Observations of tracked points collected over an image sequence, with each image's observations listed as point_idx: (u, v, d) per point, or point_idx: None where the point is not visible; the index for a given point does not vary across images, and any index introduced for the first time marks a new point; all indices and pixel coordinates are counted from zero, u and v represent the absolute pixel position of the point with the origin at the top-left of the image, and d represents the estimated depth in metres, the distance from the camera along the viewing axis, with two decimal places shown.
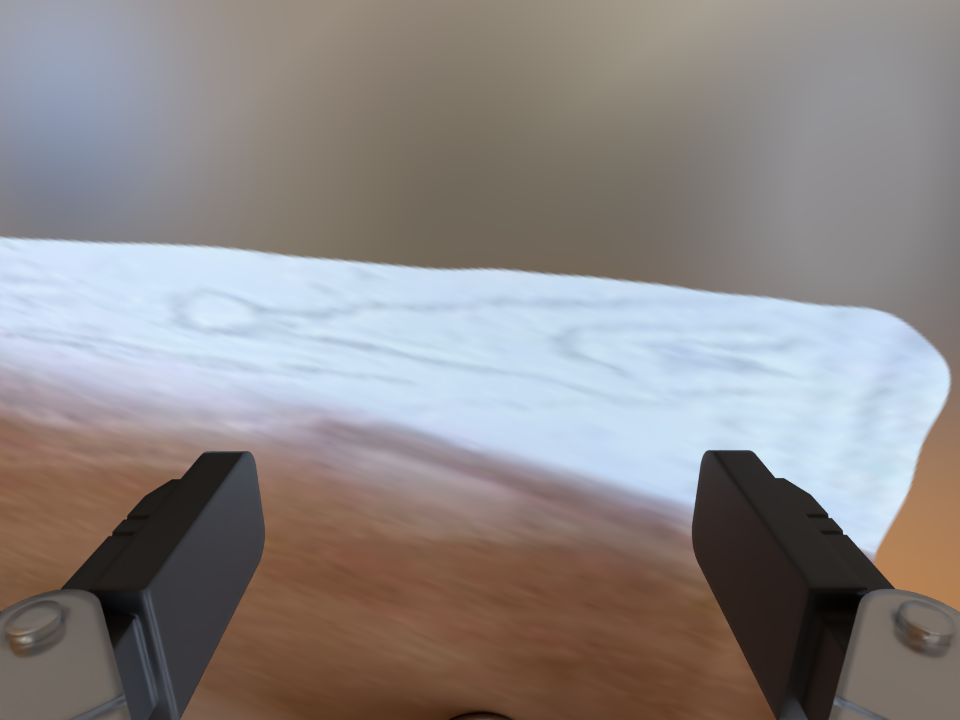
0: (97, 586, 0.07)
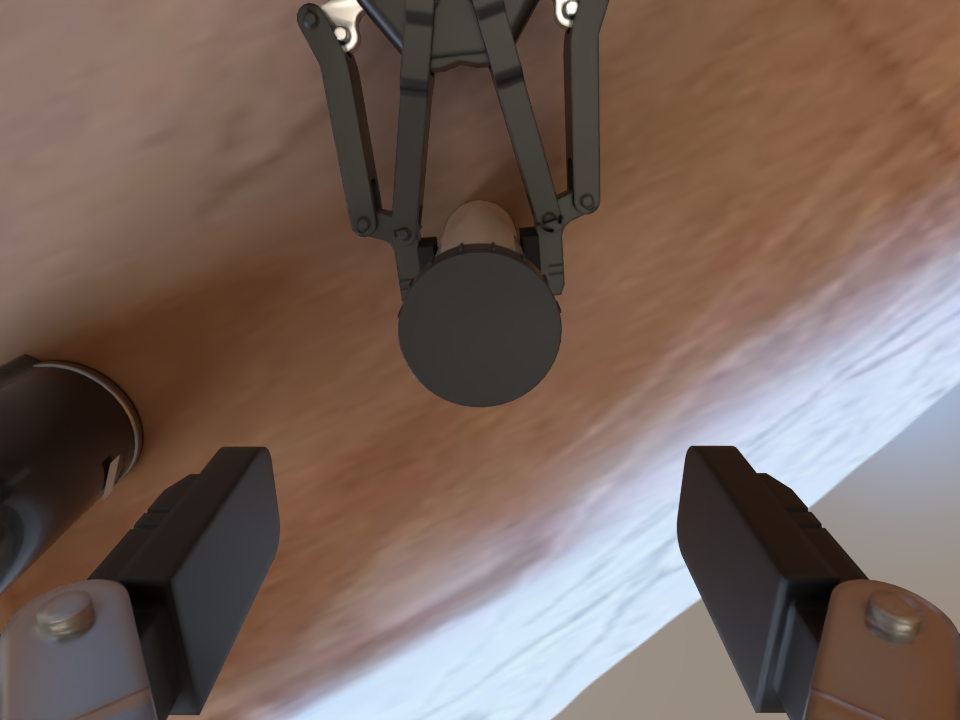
0: (124, 577, 0.08)
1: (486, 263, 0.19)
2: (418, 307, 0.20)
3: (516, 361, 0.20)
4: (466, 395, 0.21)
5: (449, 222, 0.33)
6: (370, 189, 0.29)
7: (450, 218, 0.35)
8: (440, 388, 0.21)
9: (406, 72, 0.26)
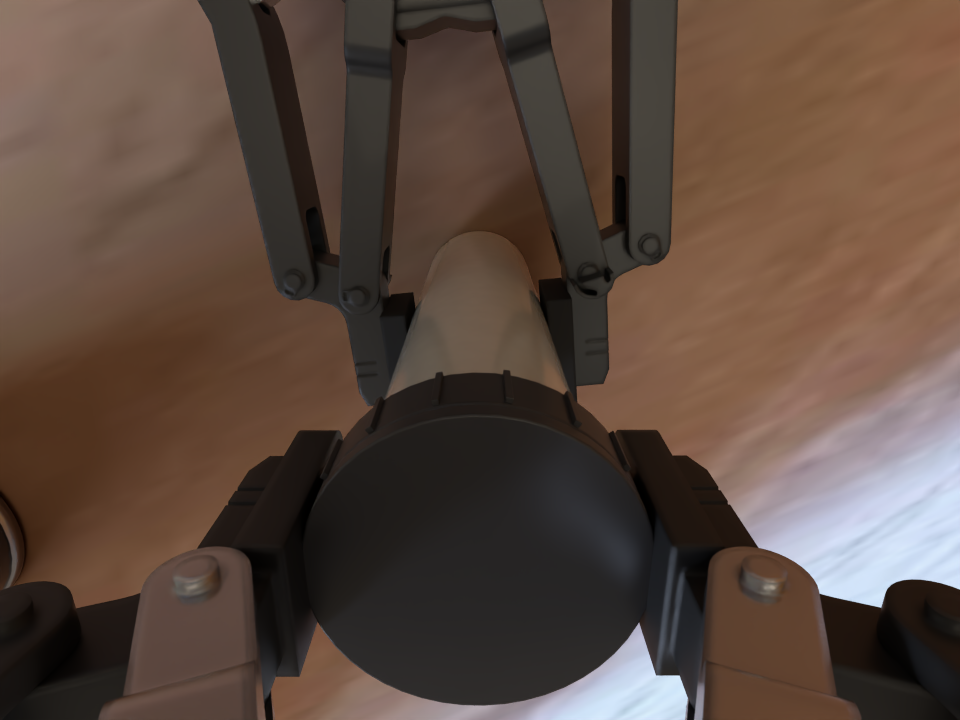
0: (237, 545, 0.08)
1: (493, 438, 0.08)
2: (342, 526, 0.09)
3: (556, 626, 0.10)
4: (450, 686, 0.10)
5: (433, 268, 0.22)
6: (303, 226, 0.18)
7: (436, 259, 0.24)
8: (396, 673, 0.10)
9: (354, 34, 0.16)
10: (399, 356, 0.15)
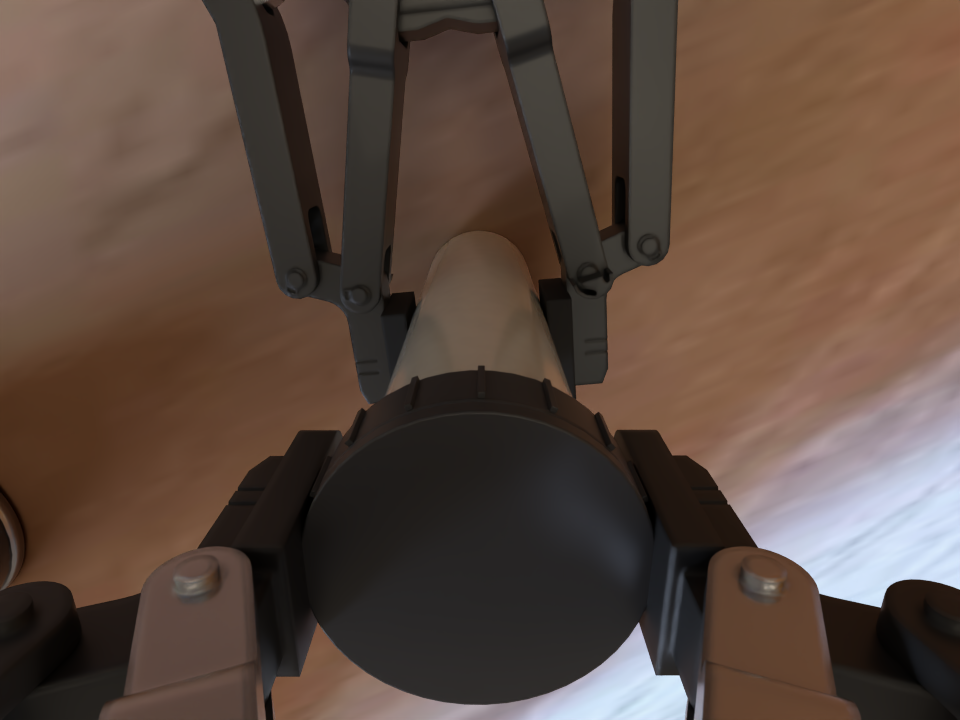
0: (238, 545, 0.08)
1: (324, 580, 0.09)
2: (442, 678, 0.10)
3: (534, 495, 0.09)
4: (628, 580, 0.09)
5: (434, 267, 0.23)
6: (305, 225, 0.18)
7: (436, 258, 0.24)
8: (615, 627, 0.09)
9: (357, 36, 0.16)
10: (400, 353, 0.16)
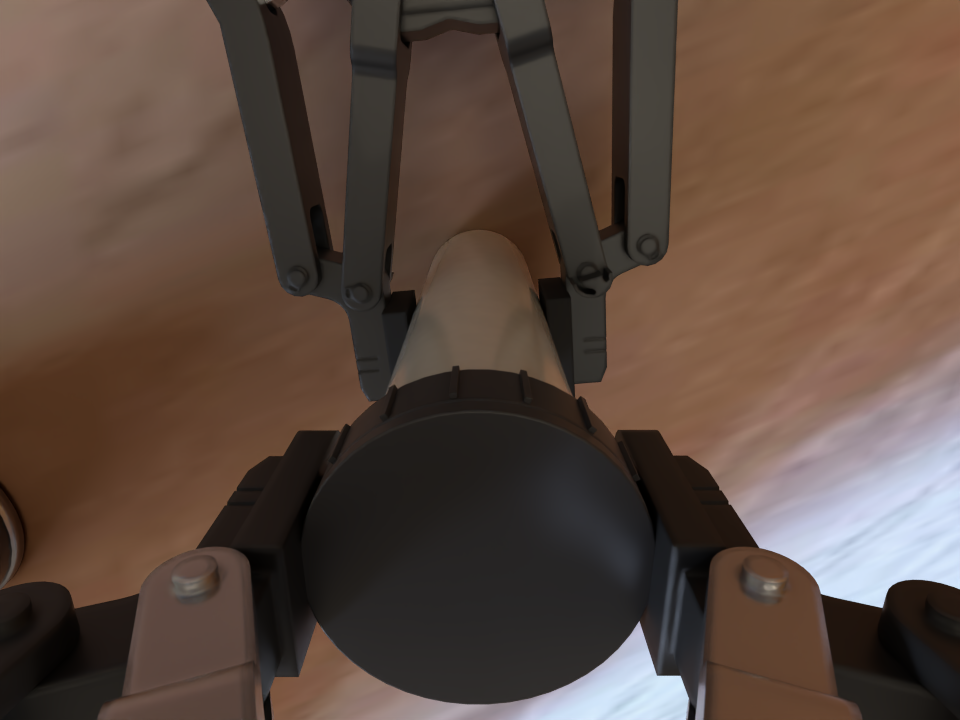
0: (236, 545, 0.08)
1: (507, 686, 0.10)
2: (620, 586, 0.09)
3: (378, 539, 0.09)
4: (463, 438, 0.08)
5: (434, 265, 0.23)
6: (307, 224, 0.18)
7: (437, 257, 0.24)
8: (529, 436, 0.08)
9: (360, 36, 0.16)
10: (401, 350, 0.16)
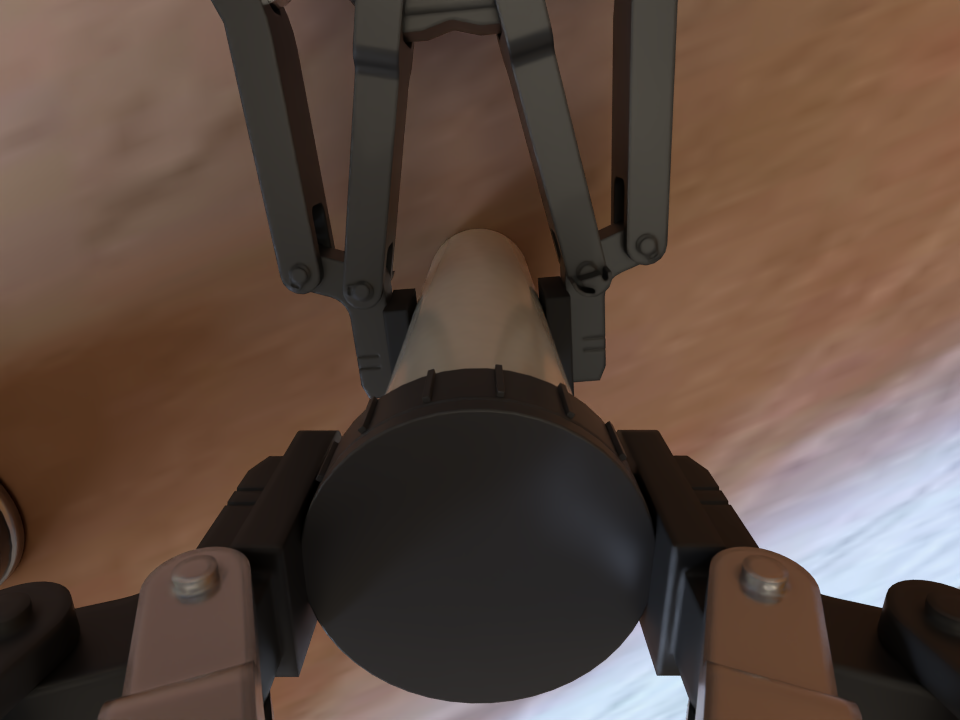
0: (237, 545, 0.08)
1: (628, 526, 0.09)
2: (474, 442, 0.08)
3: (454, 650, 0.10)
4: (334, 600, 0.09)
5: (435, 263, 0.23)
6: (309, 222, 0.18)
7: (437, 255, 0.25)
8: (319, 550, 0.09)
9: (363, 36, 0.16)
10: (402, 346, 0.16)
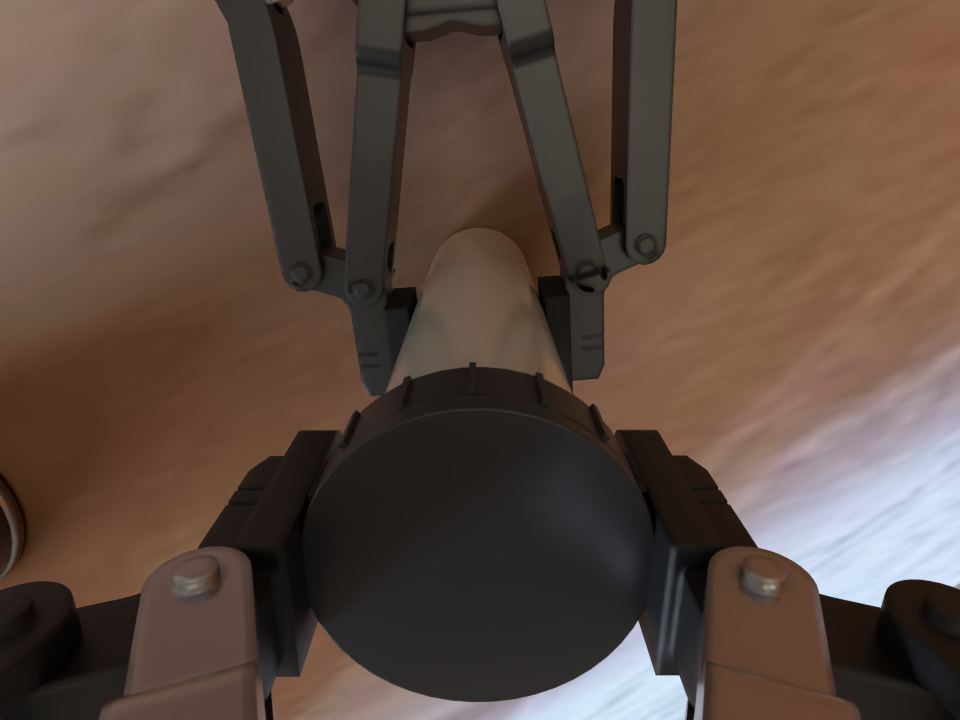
0: (238, 545, 0.08)
1: (397, 449, 0.08)
2: (337, 590, 0.09)
3: (581, 578, 0.09)
4: (530, 677, 0.10)
5: (435, 262, 0.23)
6: (311, 220, 0.19)
7: (437, 254, 0.25)
8: (476, 689, 0.10)
9: (365, 36, 0.16)
10: None
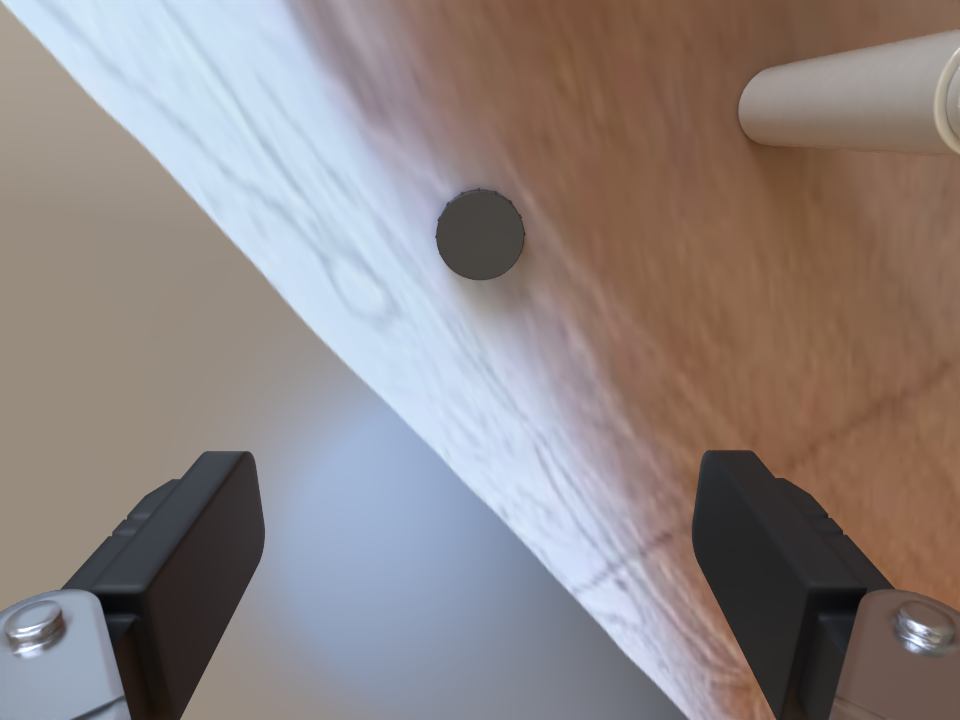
0: (97, 586, 0.07)
1: (461, 202, 0.36)
2: (445, 243, 0.37)
3: (505, 239, 0.37)
4: (493, 271, 0.38)
5: None
6: None
7: None
8: (479, 275, 0.38)
9: None
10: None
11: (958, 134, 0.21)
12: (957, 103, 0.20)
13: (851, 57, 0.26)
